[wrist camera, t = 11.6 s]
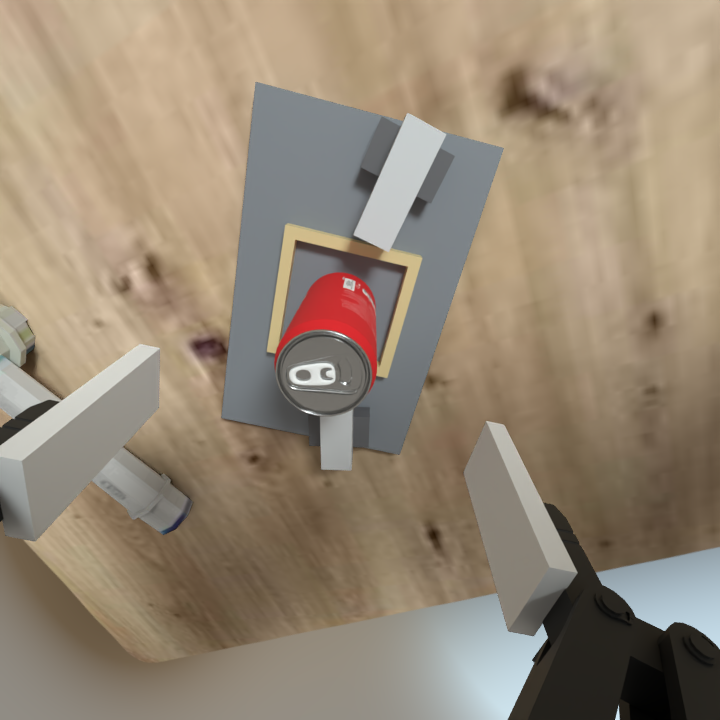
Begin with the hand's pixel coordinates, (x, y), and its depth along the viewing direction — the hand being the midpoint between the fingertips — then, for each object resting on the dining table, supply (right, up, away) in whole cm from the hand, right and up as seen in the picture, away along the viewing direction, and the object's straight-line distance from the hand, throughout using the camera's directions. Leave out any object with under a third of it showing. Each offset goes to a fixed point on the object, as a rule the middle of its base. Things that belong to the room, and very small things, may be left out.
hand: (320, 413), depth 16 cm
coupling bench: (0, +7, +15) cm, 17 cm away
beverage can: (0, +6, +14) cm, 16 cm away
